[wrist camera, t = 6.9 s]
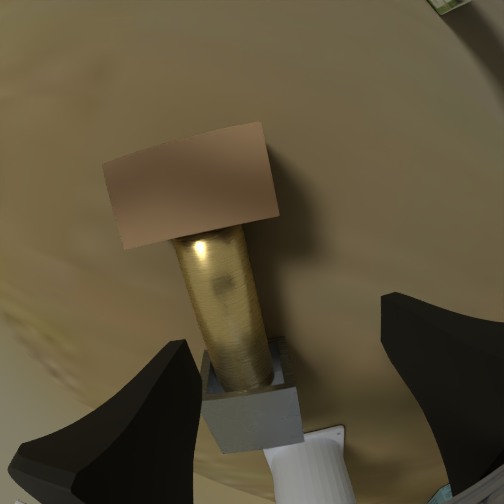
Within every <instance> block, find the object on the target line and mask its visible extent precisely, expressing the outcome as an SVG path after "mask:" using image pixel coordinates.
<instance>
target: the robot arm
mask: <svg viewBox="0 0 504 504" xmlns="http://www.w3.org/2000/svg"><path fill="white" fill-rule="evenodd" d="M381 342H382V345H383V347H384V349H385V351H386V353H387V355H388V357H389V359H390V361H391V362H392V364H393V365H394V367H395V368H396V370H397V371H398V373H399V374H400V376H401V377H402V379H403V380H404V382H405V383H406V385H407V386H408V388H409V389H410V391H411V392H412V394H413V395H414V397H415V398H416V400H417V401H418V403H419V405H420V406H421V408H422V410H423V412H424V414H425V416H426V418H427V421H428V423H429V425H430V427H431V429H432V432H433V434H434V437H435V439H436V442H437V444H438V447H439V450H440V453H441V455H442V458H443V462H444V465H445V468H446V472H447V475H448V479H449V483H450V487H451V492H452V497H453V498H451V499H449V500H447V501H446V502H444V503H442V504H481V503H482V504H504V323H503V322H495V321H488V320H483V319H479V318H474V317H470V316H466V315H462V314H459V313H456V312H452V311H449V310H446V309H443V308H440V307H437V306H434V305H432V304H429V303H426V302H424V301H421V300H418V299H416V298H413V297H410V296H407V295H404V294H401V293H397V292H393V293H390V294H387V295H383V296H381ZM201 407H202V378H201V376H200V373H199V371H198V369H197V366H196V364H195V361H194V359H193V357H192V354H191V352H190V349H189V347H188V344H187V342H186V339H183V340H176V341H170V342H169V343H168V344H167V345H165V346H164V347H163V348H162V349H161V350H160V351H159V353H158V354H157V355H156V356H155V357H154V358H153V359H152V360H151V361H150V362H149V363H148V364H147V365H146V366H145V367H144V368H143V369H142V370H141V371H140V372H139V373H138V374H137V375H136V376H135V377H134V378H133V379H132V380H131V381H130V382H129V383H128V384H127V385H125V386H124V387H123V388H122V389H121V390H120V391H119V392H118V393H117V394H115V395H114V396H113V397H112V398H111V399H109V400H108V401H107V402H105V403H104V404H103V405H101V406H100V407H98V408H97V409H96V410H94V411H92V412H91V413H89V414H88V415H86V416H84V417H83V418H81V419H80V420H78V421H76V422H74V423H73V424H71V425H69V426H67V427H65V428H63V429H61V430H58V431H56V432H54V433H52V434H49V435H47V436H44V437H41V438H38V439H35V440H32V441H29V442H26V443H22V444H21V445H20V447H19V449H18V450H17V452H16V454H15V456H14V457H13V459H12V461H11V463H10V465H9V467H8V473H9V475H10V476H11V478H12V479H13V480H14V481H15V482H16V483H17V484H18V485H19V486H20V487H22V488H23V489H24V490H25V491H26V492H28V493H29V494H30V495H31V496H32V497H34V498H35V499H36V500H38V501H39V502H40V503H42V504H193V459H194V450H195V444H196V438H197V431H198V425H199V419H200V413H201ZM304 440H305V442H302V443H297V444H292V445H287V446H281V447H275V448H269V449H263V451H264V453H265V456H266V459H267V461H268V464H269V467H270V469H271V472H272V474H273V480H274V490H275V500H276V504H357V502H356V498H355V495H354V492H353V488H352V485H351V482H350V478H349V475H348V472H347V468H346V465H345V462H344V458H343V448H344V427H343V426H342V425H339V426H335V427H331V428H327V429H323V430H319V431H315V432H310V433H306V434H304ZM15 504H26V503H24V502H22V501H20V500H16V502H15Z"/></svg>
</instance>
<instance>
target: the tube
mask: <svg viewBox="0 0 504 504" xmlns="http://www.w3.org/2000/svg"><path fill="white" fill-rule="evenodd" d="M172 240H173V243H174V247H175V250H176V254H177V257H178V261H179V264H180V268H181V271H182V274H183V278H184V281H185V284H186V288H187V291H188V294H189V297H190V300H191V303H192V306H193V310H194V313H195V316H196V319H197V322H198V325H199V328H200V331H201V333H202V336H203V339H204V342H205V345H206V348H207V351H208V353H209V356H210V359H211V362H212V364H213V367H214V370H215V372H216V375H217V378H218V380H219V383H220V386H221V388H222V390H223V391H224V392H225V393H227V392H234V391H241V390H248V389H254V388H260V387H266V386H270V385H271V384H272V383H273V381H274V378H275V372H274V368H273V363H272V359H271V354H270V350H269V345H268V341H267V336H266V332H265V327H264V323H263V318H262V313H261V309H260V304H259V300H258V295H257V291H256V286H255V282H254V277H253V272H252V268H251V263H250V259H249V254H248V249H247V245H246V240H245V236H244V231H243V226H242V224H238V225H233V226H228V227H223V228H219V229H214V230H210V231H205V232H200V233H196V234H191V235H187V236H182V237H178V238H174V239H172Z"/></svg>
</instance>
